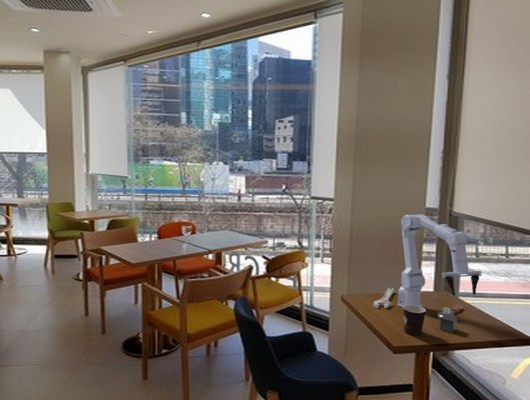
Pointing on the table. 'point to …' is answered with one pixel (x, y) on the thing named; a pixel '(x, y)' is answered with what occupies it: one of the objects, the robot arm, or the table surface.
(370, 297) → the table surface
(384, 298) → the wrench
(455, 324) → the socket
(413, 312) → the coffee mug
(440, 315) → the ratchet
